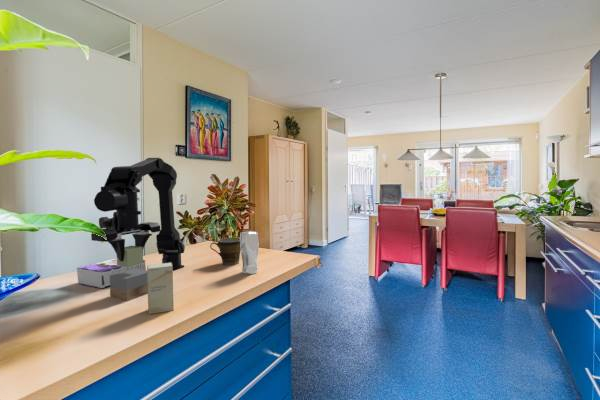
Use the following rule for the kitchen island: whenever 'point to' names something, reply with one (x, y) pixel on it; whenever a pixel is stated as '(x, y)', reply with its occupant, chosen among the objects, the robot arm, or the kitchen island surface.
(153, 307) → the skincare box
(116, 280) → the charcoal block
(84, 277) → the candy box
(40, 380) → the kitchen island surface
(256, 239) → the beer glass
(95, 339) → the kitchen island surface
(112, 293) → the walnut block
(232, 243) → the ceramic cup
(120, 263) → the olive cube
